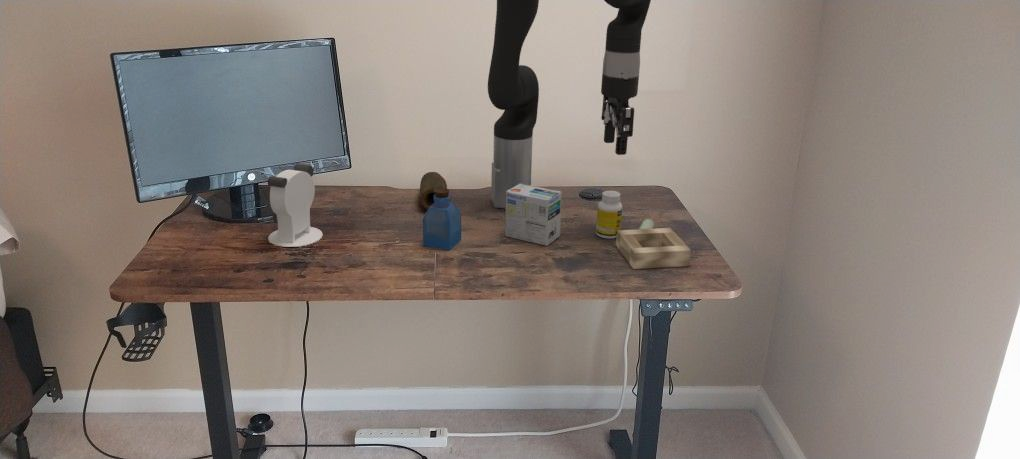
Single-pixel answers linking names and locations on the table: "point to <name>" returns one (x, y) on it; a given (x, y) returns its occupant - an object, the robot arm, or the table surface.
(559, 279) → the table surface
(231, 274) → the table surface
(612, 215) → the supplement bottle
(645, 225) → the lying dowel
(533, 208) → the light bulb box
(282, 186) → the headphone stand
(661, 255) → the socket block
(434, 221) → the perfume bottle
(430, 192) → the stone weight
